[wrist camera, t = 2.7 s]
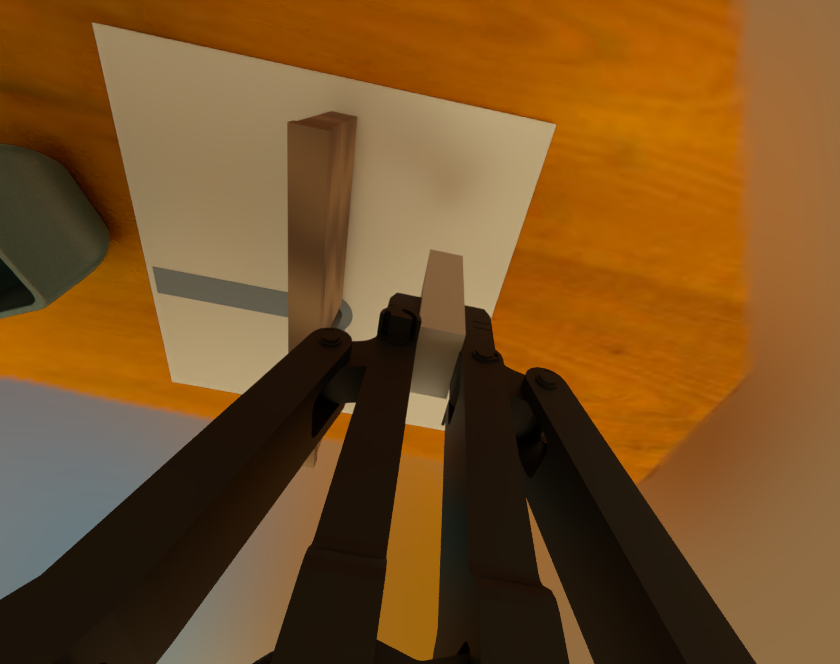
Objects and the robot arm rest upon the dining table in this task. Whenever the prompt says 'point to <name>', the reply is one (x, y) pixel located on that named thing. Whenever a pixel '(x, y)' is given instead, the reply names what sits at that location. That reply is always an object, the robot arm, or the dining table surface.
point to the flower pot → (43, 231)
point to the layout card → (268, 197)
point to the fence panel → (317, 218)
